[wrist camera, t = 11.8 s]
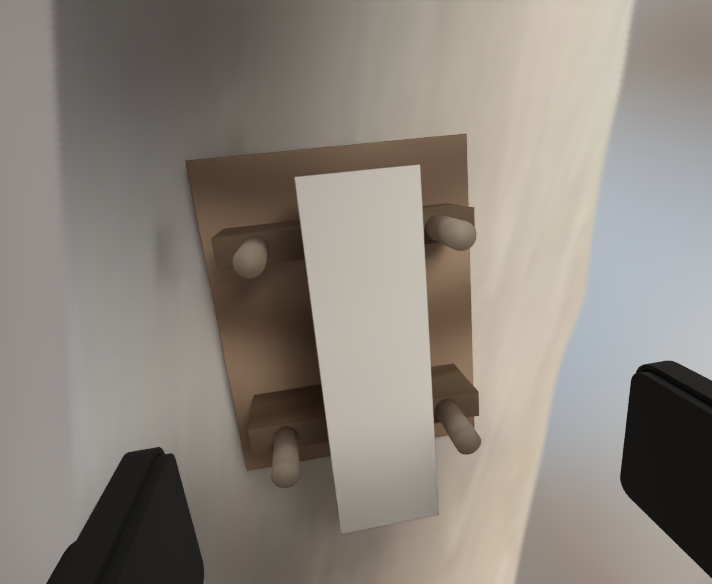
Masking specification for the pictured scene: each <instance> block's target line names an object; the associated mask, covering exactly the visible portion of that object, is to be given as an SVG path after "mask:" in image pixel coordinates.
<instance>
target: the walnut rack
mask: <svg viewBox="0 0 712 584" xmlns="http://www.w3.org/2000/svg"><path fill="white" fill-rule="evenodd" d="M185 162H186V167H187V172H188V177H189V182H190V187H191V192H192V197H193V202H194V207H195V212H196V217H197V222H198V227H199V232H200V237H201V242H202V247H203V252H204V257H205V262H206V267H207V272H208V277H209V282H210V287H211V292H212V297H213V302H214V307H215V312H216V317H217V322H218V327H219V332H220V337H221V342H222V347H223V352H224V357H225V362H226V367H227V373H228V378H229V383H230V388H231V393H232V398H233V403H234V408H235V413H236V418H237V423H238V428H239V433H240V438H241V443H242V448H243V453H244V458H245V463H246V468H247V471H249V470H254V469H260V468H265V467H271V466H272V481H273V483H274V484H275V485H276V486H278V487H281V488H288V487H291V486H293V485H295V484H296V483H297V481H298V479H299V461H305V460H310V459H316V458H322V457H327V456H330V449H329V441H328V433H327V426H326V418H325V411H324V403H323V395H322V388H321V380H320V372H319V365H318V357H317V350H316V342H315V334H314V327H313V319H312V312H311V304H310V296H309V289H308V281H307V274H306V266H305V258H304V251H303V243H302V236H301V228H300V220H299V213H298V205H297V198H296V190H295V182H294V177H298V176H308V175H318V174H328V173H338V172H348V171H358V170H368V169H378V168H388V167H399V166H410V165H420V173H421V192H422V211H423V230H424V248H425V267H426V286H427V305H428V324H429V342H430V361H431V380H432V399H433V417H434V436H435V437H440V436H445V435H449V437H450V438H451V440H452V442H453V443H454V445H455V447H456V448H457V450H458V451H459V452H460V453H462V454H471V453H474V452H475V451H476V450H477V449H478V448H479V447H480V444H481V438H480V436H479V435H478V433H477V432H476V430H475V429H474V416H479V398H478V391H477V390H476V388H475V387H474V386H473V359H472V322H471V285H470V247H471V246H472V245H473V244H474V242H475V240H476V230H475V226H474V208H473V207H468V173H467V135H466V134H458V135H447V136H437V137H426V138H416V139H406V140H395V141H385V142H375V143H364V144H354V145H343V146H333V147H323V148H312V149H302V150H291V151H281V152H271V153H260V154H250V155H240V156H229V157H219V158H208V159H198V160H188V161H185Z"/></svg>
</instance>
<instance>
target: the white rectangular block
mask: <svg viewBox="0 0 712 584" xmlns="http://www.w3.org/2000/svg"><path fill="white" fill-rule="evenodd" d="M294 182H295V190H296V198H297V205H298V213H299V220H300V228H301V236H302V243H303V251H304V258H305V266H306V274H307V281H308V289H309V296H310V304H311V312H312V319H313V327H314V334H315V342H316V350H317V357H318V365H319V372H320V380H321V388H322V395H323V403H324V411H325V418H326V426H327V433H328V441H329V449H330V456H331V464H332V471H333V478H334V485H335V492H336V499H337V506H338V513H339V521H340V528H341V534H344V533H349V532H354V531H359V530H364V529H370V528H375V527H380V526H385V525H390V524H395V523H400V522H405V521H410V520H415V519H420V518H425V517H430V516H436V515H439V511H438V493H437V474H436V455H435V436H434V417H433V399H432V380H431V361H430V342H429V324H428V305H427V286H426V267H425V248H424V230H423V211H422V192H421V173H420V165H410V166H399V167H388V168H378V169H368V170H358V171H348V172H338V173H328V174H318V175H308V176H298V177H294Z"/></svg>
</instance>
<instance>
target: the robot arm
mask: <svg viewBox="0 0 712 584" xmlns="http://www.w3.org/2000/svg"><path fill="white" fill-rule="evenodd" d="M620 480H621V484H622V487H623V489H624V491H625V493H626V494H627V495H628V496H629V498H630V499H632V501H633V502H635V503H636V504H637V505H638V506H639V507H640V508H641V509H642V510H643V511H644V512H645V513H646V514H647V515H648V516H649V517H650V518H651V519H652V520H653V521H654V522H655V523H656V524H657V525H658V526H659V527H660V528H661V529H662V530H663V531H664V532H665V533H666V534H667V535H668V536H669V537H670V538H671V539H672V540H673V541H674V542H675V543H676V544H677V545H678V546H679V547H680V548H681V549H682V550H683V551H684V552H686V553H687V554H688V556H690V557H691V558H692V559H693V560H694V561H695V562H696V563H697V564H698V565H699V566H700V567H701V568H702V569H703V570H704V571H705V572H706V573H707V574H708V575H709V576H710V577H711V578H712V381H711V380H709V379H708V378H706V377H703V376H702V375H700V374H698V373H696V372H694V371H692V370H690V369H688V368H686V367H684V366H682V365H680V364H678V363H676V362H674V361H662V362H656V363H651V364H644V365H642V366H640V367H639V368H638V369H637V371H636V374H634V375H633V377H632V379H631V386H630V395H629V403H628V413H627V421H626V431H625V439H624V448H623V457H622V465H621V474H620ZM203 582H204V566H203V560H202V557H201V553H200V549H199V545H198V542H197V538H196V534H195V530H194V527H193V523H192V519H191V515H190V512H189V508H188V504H187V500H186V497H185V493H184V489H183V485H182V482H181V478H180V474H179V470H178V467H177V463H176V459H175V457H174V455H173V454H172V453H169V454H165V453H164V451H163V450H162V448H160V447H157V448H151V449H145V450H139V451H133V452H128V453H126V454H125V455H124V456H123V458H122V460H121V461H120V463H119V465H118V467H117V469H116V470H115V472H114V474H113V476H112V478H111V479H110V481H109V483H108V485H107V487H106V488H105V490H104V492H103V494H102V496H101V497H100V499H99V501H98V503H97V505H96V506H95V508H94V510H93V512H92V514H91V515H90V517H89V519H88V521H87V523H86V524H85V526H84V528H83V530H82V532H81V533H80V535H79V537H78V539H77V541H75V542H74V543H72V544H71V545H70V546H69V547H68V548H67V550H66V551H65V552H64V554H63V555H62V557H61V559H60V561H59V563H58V564H57V566H56V568H55V569H54V571H53V573H52V575H51V576H50V578H49V580H48V582H47V583H46V584H203Z"/></svg>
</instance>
